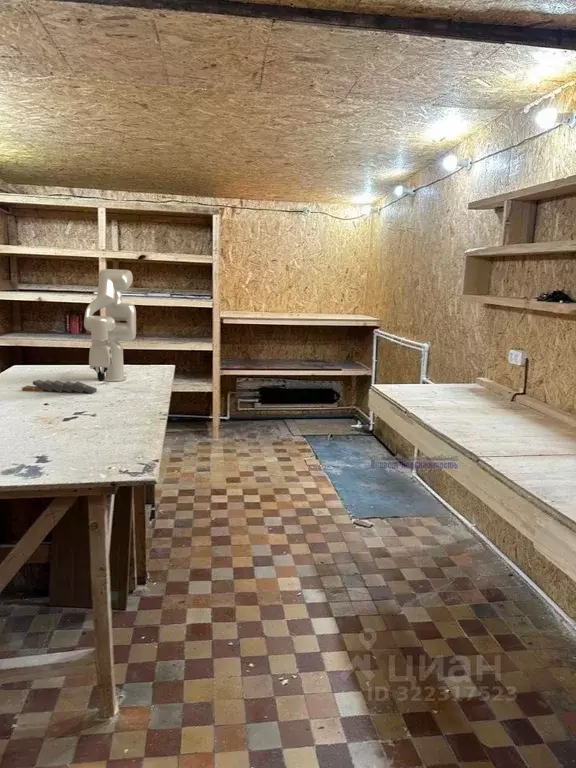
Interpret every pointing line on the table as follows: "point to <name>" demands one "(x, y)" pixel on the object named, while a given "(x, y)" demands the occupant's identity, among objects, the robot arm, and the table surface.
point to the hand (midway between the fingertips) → (101, 380)
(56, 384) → the domino
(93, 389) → the domino
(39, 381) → the domino
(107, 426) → the table surface
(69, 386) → the domino
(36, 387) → the domino
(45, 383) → the domino
